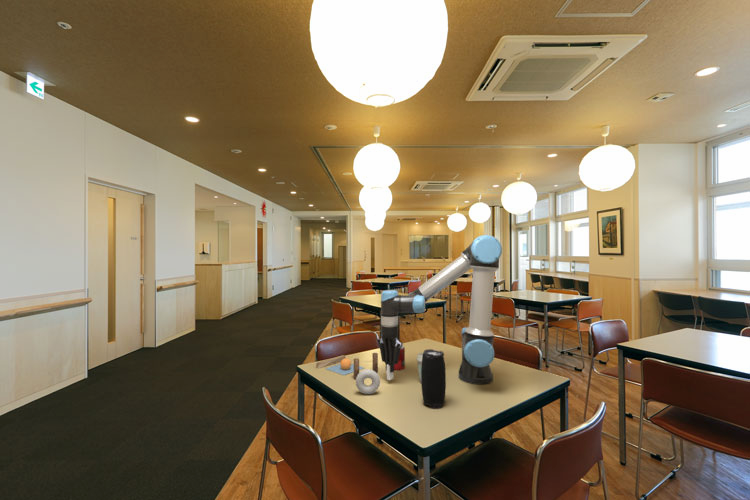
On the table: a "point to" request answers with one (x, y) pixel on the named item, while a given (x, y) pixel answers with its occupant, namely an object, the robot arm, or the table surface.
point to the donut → (367, 388)
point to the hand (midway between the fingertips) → (390, 379)
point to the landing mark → (341, 371)
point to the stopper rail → (330, 361)
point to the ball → (345, 364)
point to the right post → (375, 362)
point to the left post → (356, 367)
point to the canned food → (401, 360)
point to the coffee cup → (419, 364)
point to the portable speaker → (433, 378)
